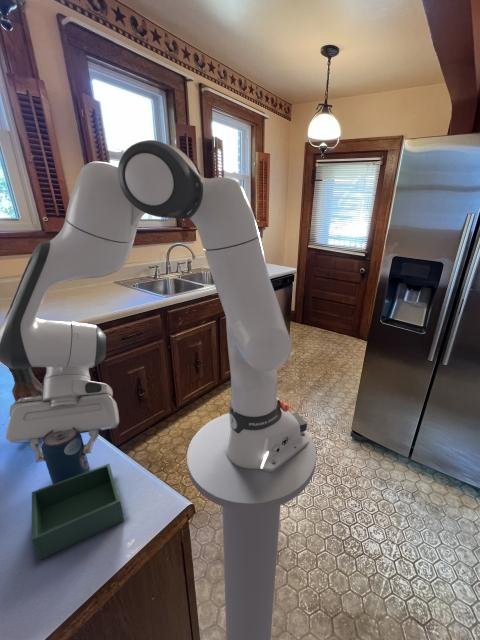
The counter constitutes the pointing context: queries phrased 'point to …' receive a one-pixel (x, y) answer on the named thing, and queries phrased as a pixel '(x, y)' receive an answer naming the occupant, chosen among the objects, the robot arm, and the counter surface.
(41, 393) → the sauce bottle
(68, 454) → the soda can
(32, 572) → the counter surface
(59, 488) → the bin
